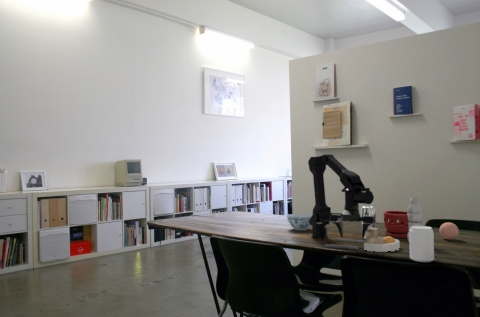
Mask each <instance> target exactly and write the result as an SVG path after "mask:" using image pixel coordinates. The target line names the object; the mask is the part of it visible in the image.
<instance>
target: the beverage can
mask: <svg viewBox="0 0 480 317" xmlns="http://www.w3.org/2000/svg"><path fill="white" fill-rule="evenodd" d="M434 236H435V234H434V230H433V228H432V227H431V226H424V225H421V226H411V228H410V230H409V241H408V243H409V258H410V260H412V261H415V262H419V263H431V262H433V261H434V260H435V238H434Z"/></svg>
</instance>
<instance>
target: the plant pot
mask: <svg viewBox="0 0 480 317" xmlns="http://www.w3.org/2000/svg"><path fill="white" fill-rule="evenodd" d="M408 223H409V222H408V215H407V211H404V210H386V211H383V224H384V227H385V229H386V230H385V231H384V233H385V235H386V237H387V236H390V237H392V238H394V239H406V238H407V235H408V226H409V224H408Z"/></svg>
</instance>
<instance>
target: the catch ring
mask: <svg viewBox="0 0 480 317" xmlns="http://www.w3.org/2000/svg"><path fill="white" fill-rule="evenodd" d="M385 237H386V236H378V244H373V243H363V248H364V249H363V250H367V252H373V251H375V252H376V253H383V252H384V253H386V252H388V251H391V252H395V250H397V251H399V250H400V249H401V247H400V246H401V245H400V244H401V242H400V240H399V239H398V238H394V240H395V242H394V243H389V244H383V239H384V238H385ZM399 248H400V249H399ZM388 253H389V252H388Z"/></svg>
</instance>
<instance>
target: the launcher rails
mask: <svg viewBox="0 0 480 317" xmlns="http://www.w3.org/2000/svg"><path fill="white" fill-rule="evenodd" d="M333 239H334V240H333V242H346V243H357V244H359V243H360V244H364V243H366V240H365V239H361V240H360V239H351V238H350V239H348V238H333ZM324 247H325V248H335V249H336V248H338V249H346V248H348V249H349V250H357V249H358V250H359V247H358V246H356V245H354V246H353V245H345V244H344V245H342V244H330V243H329V244H328V243H324ZM348 249H347V250H348Z"/></svg>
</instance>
